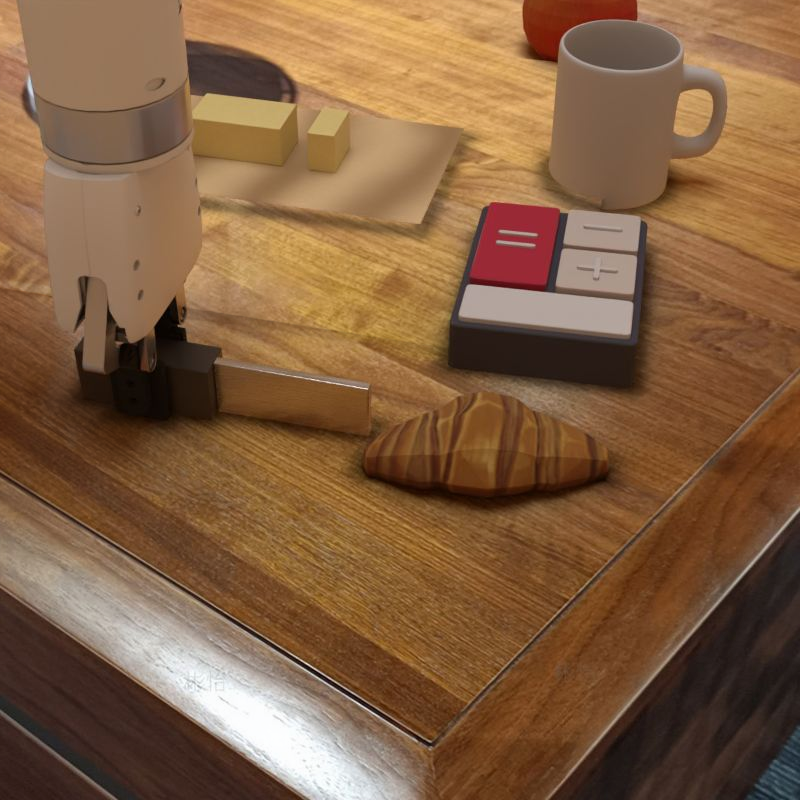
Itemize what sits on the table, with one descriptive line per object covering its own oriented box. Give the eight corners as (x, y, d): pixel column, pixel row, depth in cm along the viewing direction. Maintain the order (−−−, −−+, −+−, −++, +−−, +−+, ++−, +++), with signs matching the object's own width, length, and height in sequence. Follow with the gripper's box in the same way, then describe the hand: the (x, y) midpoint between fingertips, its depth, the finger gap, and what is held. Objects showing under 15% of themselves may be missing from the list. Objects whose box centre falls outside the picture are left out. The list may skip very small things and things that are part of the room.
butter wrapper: (121, 200, 97) (118, 182, 96) (192, 111, 107) (190, 94, 106) (420, 242, 93) (420, 223, 92) (463, 145, 103) (464, 127, 102)
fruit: (637, 41, 117) (651, -74, 111) (626, 90, 110) (640, -30, 104) (528, 30, 119) (535, -84, 113) (510, 78, 112) (517, -41, 106)
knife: (82, 398, 78) (73, 349, 76) (99, 373, 80) (90, 324, 78) (364, 449, 75) (364, 399, 73) (375, 422, 77) (375, 373, 75)
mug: (548, 215, 95) (560, 70, 88) (545, 155, 102) (556, 16, 95) (720, 220, 95) (746, 75, 88) (705, 160, 101) (728, 20, 94)
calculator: (649, 209, 89) (639, 334, 77) (642, 266, 91) (631, 395, 80) (483, 193, 90) (448, 313, 79) (480, 249, 93) (446, 373, 81)
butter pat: (308, 170, 97) (306, 132, 95) (324, 143, 100) (323, 106, 98) (335, 173, 97) (334, 136, 95) (350, 147, 100) (349, 110, 98)
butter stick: (190, 154, 99) (186, 117, 97) (210, 129, 102) (206, 92, 100) (282, 166, 98) (279, 129, 96) (298, 140, 101) (296, 103, 99)
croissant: (601, 437, 77) (610, 367, 74) (614, 520, 72) (624, 450, 69) (364, 433, 77) (362, 364, 74) (359, 517, 72) (357, 446, 69)
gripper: (110, 33, 74) (147, 308, 85) (-34, 181, 62) (32, 477, 73) (241, 50, 72) (260, 327, 84) (120, 204, 60) (162, 502, 72)
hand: (154, 395), depth 79 cm, fingers closed on knife, 2 cm apart
